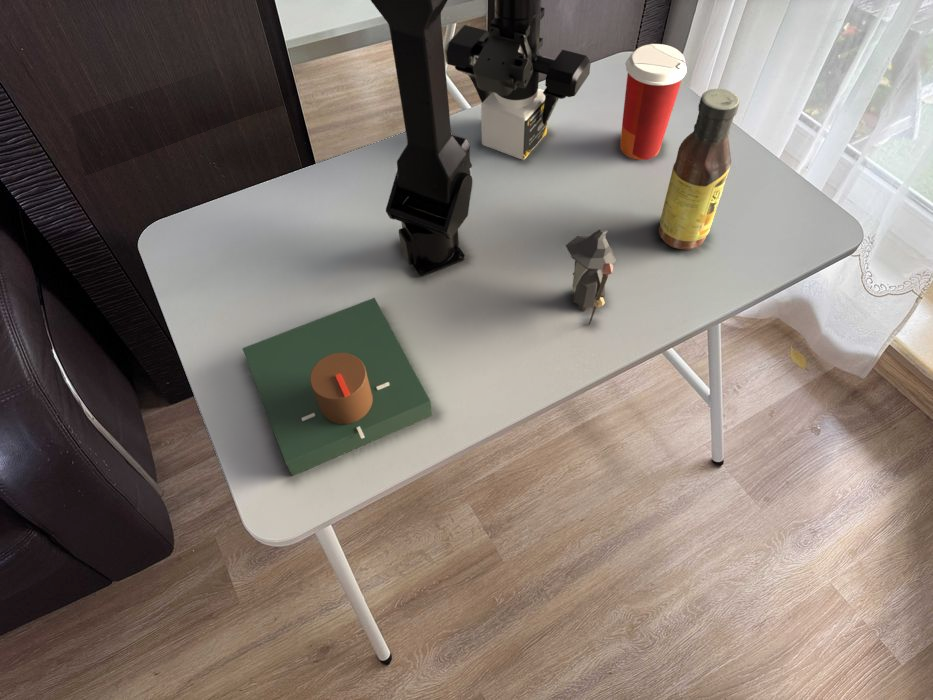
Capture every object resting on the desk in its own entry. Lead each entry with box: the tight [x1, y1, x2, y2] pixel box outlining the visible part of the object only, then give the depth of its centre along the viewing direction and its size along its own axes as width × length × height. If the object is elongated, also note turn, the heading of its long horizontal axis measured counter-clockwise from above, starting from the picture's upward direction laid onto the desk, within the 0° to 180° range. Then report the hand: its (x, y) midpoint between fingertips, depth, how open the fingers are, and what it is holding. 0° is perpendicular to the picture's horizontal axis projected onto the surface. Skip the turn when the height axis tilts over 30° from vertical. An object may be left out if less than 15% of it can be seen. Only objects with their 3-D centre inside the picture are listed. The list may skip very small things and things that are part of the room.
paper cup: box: [620, 43, 688, 161], centre depth 97 cm, size 8×8×14 cm
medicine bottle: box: [480, 71, 549, 161], centre depth 100 cm, size 7×7×12 cm
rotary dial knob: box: [310, 353, 373, 424], centre depth 73 cm, size 6×6×5 cm
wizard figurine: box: [565, 229, 617, 325], centre depth 81 cm, size 8×6×12 cm
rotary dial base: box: [242, 297, 433, 477], centre depth 78 cm, size 16×17×3 cm
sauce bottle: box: [658, 88, 740, 250], centre depth 84 cm, size 7×6×20 cm
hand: (515, 114), depth 101 cm, fingers open, 9 cm apart
